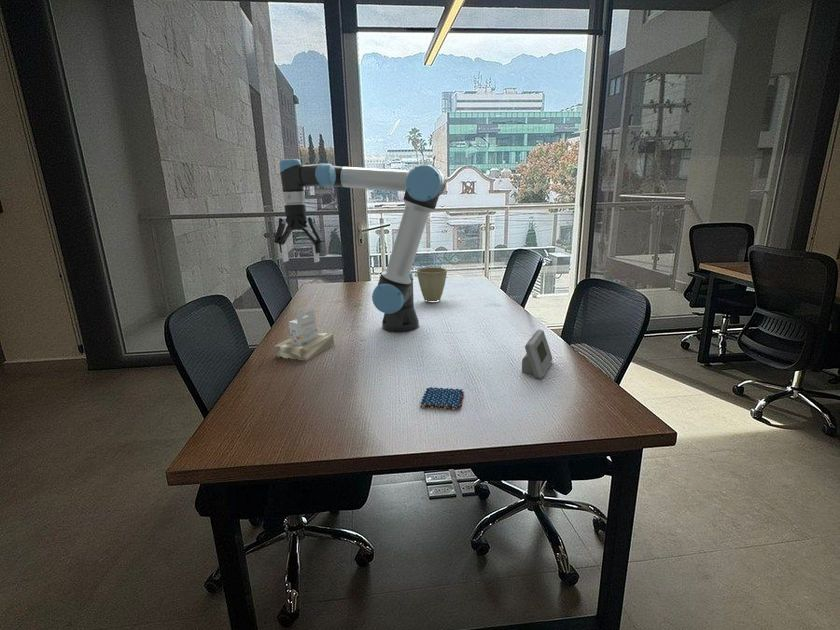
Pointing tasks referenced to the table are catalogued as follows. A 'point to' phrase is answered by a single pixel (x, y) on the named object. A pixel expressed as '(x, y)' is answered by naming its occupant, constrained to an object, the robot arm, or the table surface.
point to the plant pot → (432, 282)
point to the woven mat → (442, 398)
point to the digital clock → (537, 355)
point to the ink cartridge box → (303, 329)
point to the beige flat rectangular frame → (304, 348)
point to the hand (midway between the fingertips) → (301, 261)
